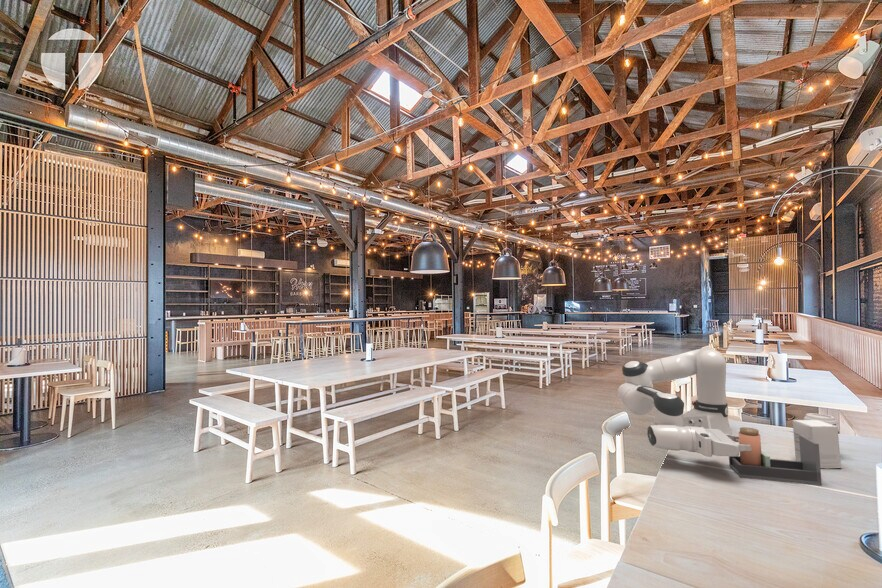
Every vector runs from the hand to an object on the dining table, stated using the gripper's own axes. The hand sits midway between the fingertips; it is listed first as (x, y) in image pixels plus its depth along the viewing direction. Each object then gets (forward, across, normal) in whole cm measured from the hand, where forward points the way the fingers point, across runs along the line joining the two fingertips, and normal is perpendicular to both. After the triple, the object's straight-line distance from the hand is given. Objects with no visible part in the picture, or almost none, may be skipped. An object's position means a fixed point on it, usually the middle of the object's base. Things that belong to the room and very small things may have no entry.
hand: (745, 443), depth 138 cm
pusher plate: (+5, 0, -9) cm, 10 cm away
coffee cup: (+34, -29, -10) cm, 46 cm away
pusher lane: (+8, 0, -10) cm, 13 cm away
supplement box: (+27, -17, -10) cm, 34 cm away
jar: (+2, 0, -9) cm, 9 cm away
